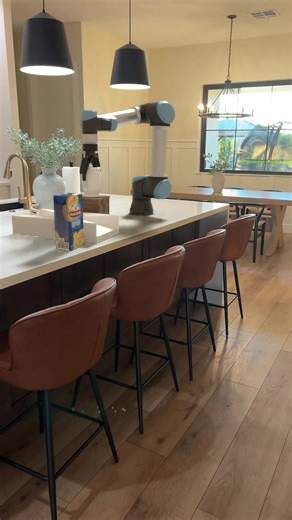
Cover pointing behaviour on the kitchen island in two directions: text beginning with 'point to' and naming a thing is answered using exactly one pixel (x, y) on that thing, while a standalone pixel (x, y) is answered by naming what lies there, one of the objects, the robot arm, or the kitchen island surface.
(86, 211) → the walnut block
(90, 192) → the jar
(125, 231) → the kitchen island surface
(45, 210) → the white open tray
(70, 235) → the blue cardboard box
